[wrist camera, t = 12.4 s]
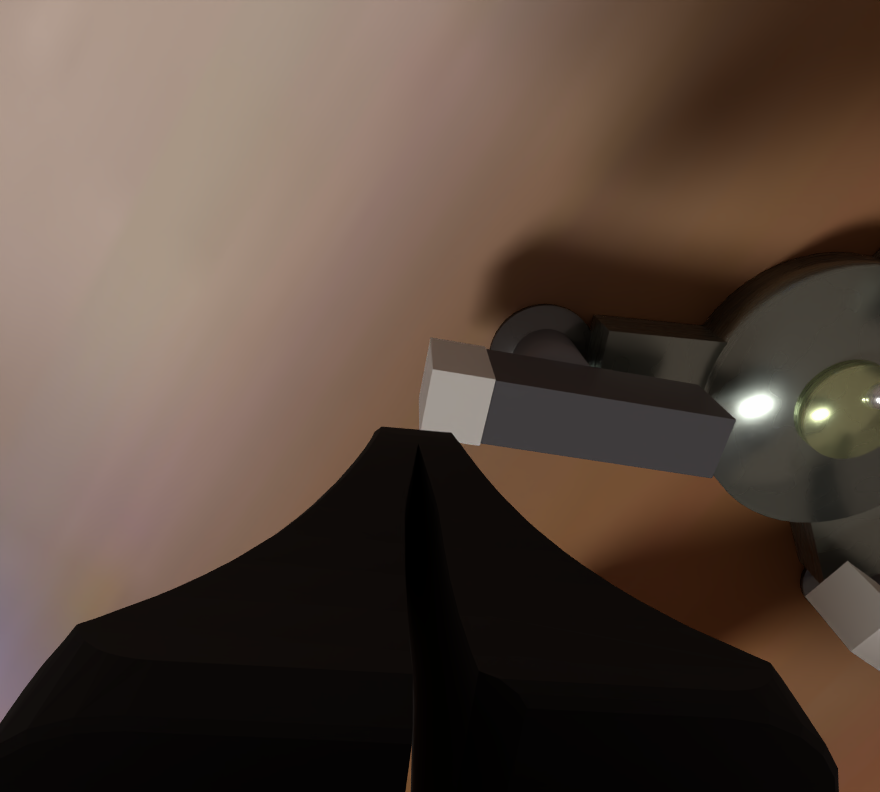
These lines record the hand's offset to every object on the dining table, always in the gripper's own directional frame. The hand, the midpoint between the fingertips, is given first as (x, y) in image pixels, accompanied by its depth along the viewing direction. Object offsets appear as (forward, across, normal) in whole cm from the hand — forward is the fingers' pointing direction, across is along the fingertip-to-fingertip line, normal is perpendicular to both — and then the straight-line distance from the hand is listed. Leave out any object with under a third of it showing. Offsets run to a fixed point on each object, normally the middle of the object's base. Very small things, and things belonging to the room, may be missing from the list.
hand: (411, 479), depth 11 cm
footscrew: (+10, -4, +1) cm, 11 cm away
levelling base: (+10, -12, +1) cm, 16 cm away
